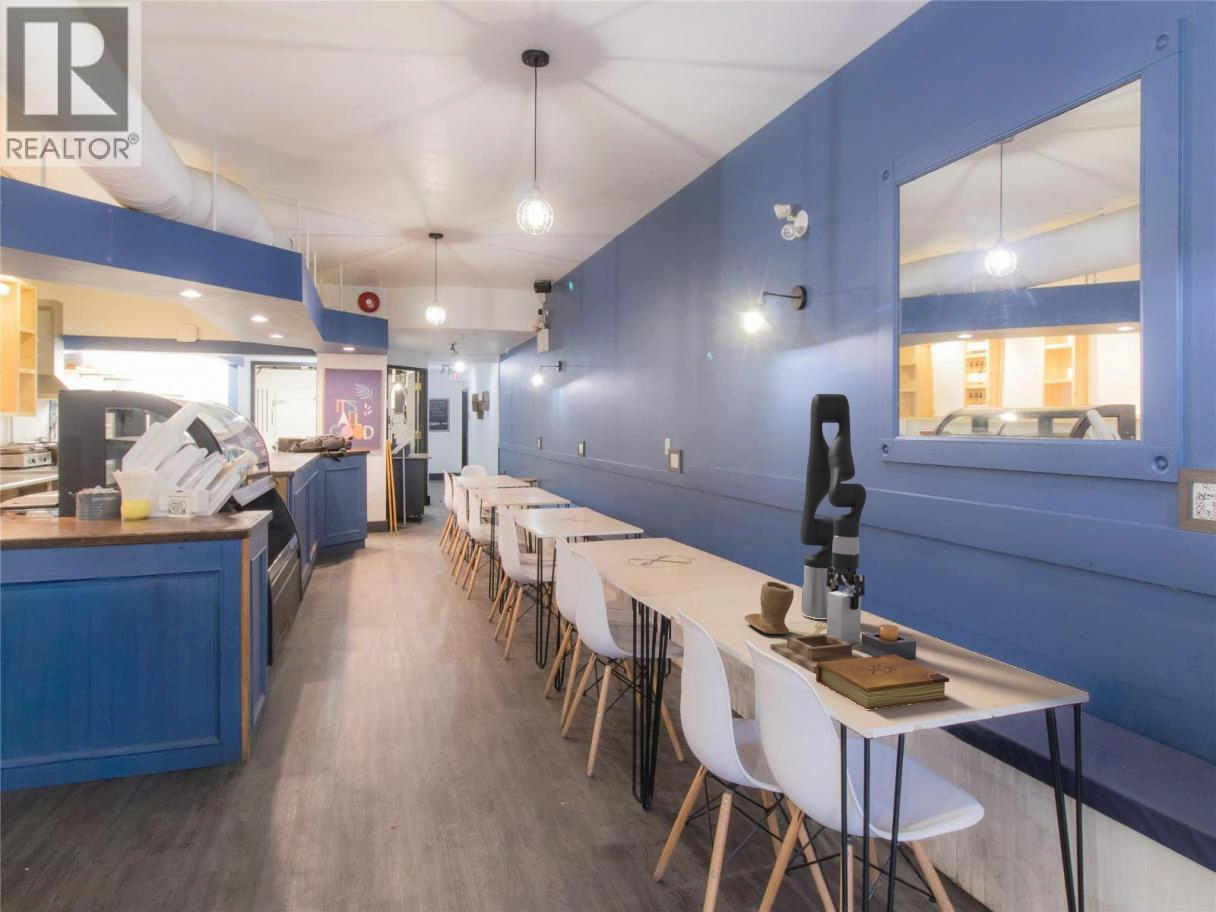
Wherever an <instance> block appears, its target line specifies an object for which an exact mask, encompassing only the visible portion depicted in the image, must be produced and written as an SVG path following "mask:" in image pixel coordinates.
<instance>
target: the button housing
mask: <svg viewBox="0 0 1216 912" xmlns="http://www.w3.org/2000/svg"><path fill="white" fill-rule="evenodd" d="M860 643H861V644H860V646H861V647H860V651H862V653H864V654H866V653H867V654H866V655H868V654H869V655H868V656H870V655H871V656H870V657H873V656H882V655H892V654H895V655H898V656H900V657H902V658H905V659H907V660H909V661H913V660H916V659H917V640H914V639H911V638H909V637H907V636H904V635H901V634H899V633H898V640H896V641H885V640H883V639H880V638H879V631H877V632H876V631H875V632H868V633H866V632H865V633H861V638H860Z"/></svg>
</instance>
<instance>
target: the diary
mask: <svg viewBox="0 0 1216 912" xmlns="http://www.w3.org/2000/svg"><path fill="white" fill-rule="evenodd" d="M815 680H816V683H818V684H819V683H820V685H821V684H822V685H821V686H823V685H824V686H823V687H825V686H826V687H828V688H829V690H830V689H831V690H830V691H832V690H833V691H835V692H836V693H835V692H834V693H835V694H837V693H838V694H840V695H842V696H844V697H846V698H848V699H850V700H851V701H853V702H855V703H856V704H858V705H860V706H862V707H864V708H865V709H875V708H883V709H885V708H884V707H891V708H893V707H892V706H898V707H903V706H902V705H906V706H909V705H908V704H913V705H918V704H917V703H921V704H926V702H928V703H933V702H932V701H936V702H941V701H940V700H943V701H948V700H947V699H949V698H950V697H948V696H946V695H945V691H946V689H945V687H946V686H945V685H946V684H945V683H948V682H950V677H949V676H947V675H943V674H941V673H939V672H937V671H934V670H932V669H929V668H927V667H925V666H923V665H921V664H918V663H916V662H913V661H912V660H907V659H905V658H902V657H900V656H898V655H895V654H892V655H882V656H866V657H864V656H863V658H854V659H844V660H835V661H825V662H818V663H817V665H816V672H815ZM826 687H825V688H826ZM828 688H827V689H828ZM833 691H832V692H833ZM838 694H837V695H838ZM840 695H839V696H840ZM842 696H841V697H842ZM844 697H843V698H844ZM949 700H950V699H949ZM851 701H850V702H851ZM856 704H855V705H856ZM858 705H857V706H858ZM865 709H864V710H865Z"/></svg>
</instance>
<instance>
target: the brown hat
mask: <svg viewBox="0 0 1216 912" xmlns="http://www.w3.org/2000/svg"><path fill="white" fill-rule="evenodd" d="M760 591H761V592H760V599H759V600H760V608H761V609H760V610H761V612H760V613H750V614H747V615H745V616H744V618H743V619H744V621H746V622H747V623H748V624H750V625H751V626H753V627H754V628H755V629H757V630H758V631H760V632H762V633H765V634H769V635H783V634H787V633H789V631H790V629H789V628H788V627H787V625H786V623H785V620H786V617H787V614H788V612H789V610H790V608H791V605H792V604H793V601H794V597H795V596H794V592H795V591H794V589H793V588H792V587H791V586H789V585H786V584H783V583H780V582H778V581H769V580H767V581H765V582H764V583H763V584H762V585H761V590H760Z"/></svg>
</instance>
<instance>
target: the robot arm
mask: <svg viewBox="0 0 1216 912" xmlns="http://www.w3.org/2000/svg"><path fill="white" fill-rule="evenodd" d="M849 403H850V402H849V400H848V397H847V396H846V395H845V394H841V393H816V394H814V395H813V397H812V399H811V404H810V421H809V423H810V434H809V435H810V436H809V449H808V457H807V464H806V465H807V467H806V477H805V479H806V480H805V496H804V504H803V510H802V516H801V517H802V518H801V522H800V523H801V524H800V541H801V543H802V544H803V545H804V546H818V547H821V548H820V549H819V550H818V551H816V552H813V553H810V554H808V555H806V556H804V563H803V566H804V567H803V585H802V587H801V613H802V612H803V613H804V614H805V615H807V616H811V617H815V618H827V610H828V593H829V592H835V591H840V588H841V587H842V586H843V587H845V589H847V590H849V592H850V594H851V596H852V597H850V609H852V610H857V609H858V607H859V596H861V597H862V596H865V595H866V594H865V593H866V592H865V591H866V589H865V575H864V574H858V573H857V569H858V568H859V567H860V539H859V536H860V521H861V517H862V512H863V509H864V507H865V504H866V500H867V491H866V489H865V487H864V485H862V484H860V483H842V482H846V481H849V480H851V479H853V478H854V477H855V475H856V471H855V470H856V467H855V462H854V459H853V452H852V443H851V442H852V441H851V414H850V412H851V410H850V405H849ZM823 424H837V425H838V431H837V433H836V436H835V437H834V439H833V441H832V442H831V445H830V446H829V444H828V442H827V441H826V438H825V436H824V432H823ZM825 497H828V502H829V503H830V505H831V506H832V507H835V508H849V509H850V510H849V511H848V512H847V513H846V514H840V515H837V516H835V517H834V520H833V519H832V518H829V517H815V515H816V512H817V509H818V507H819V506H820V504H821V503H822V501H823V500H824V499H825Z"/></svg>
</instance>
